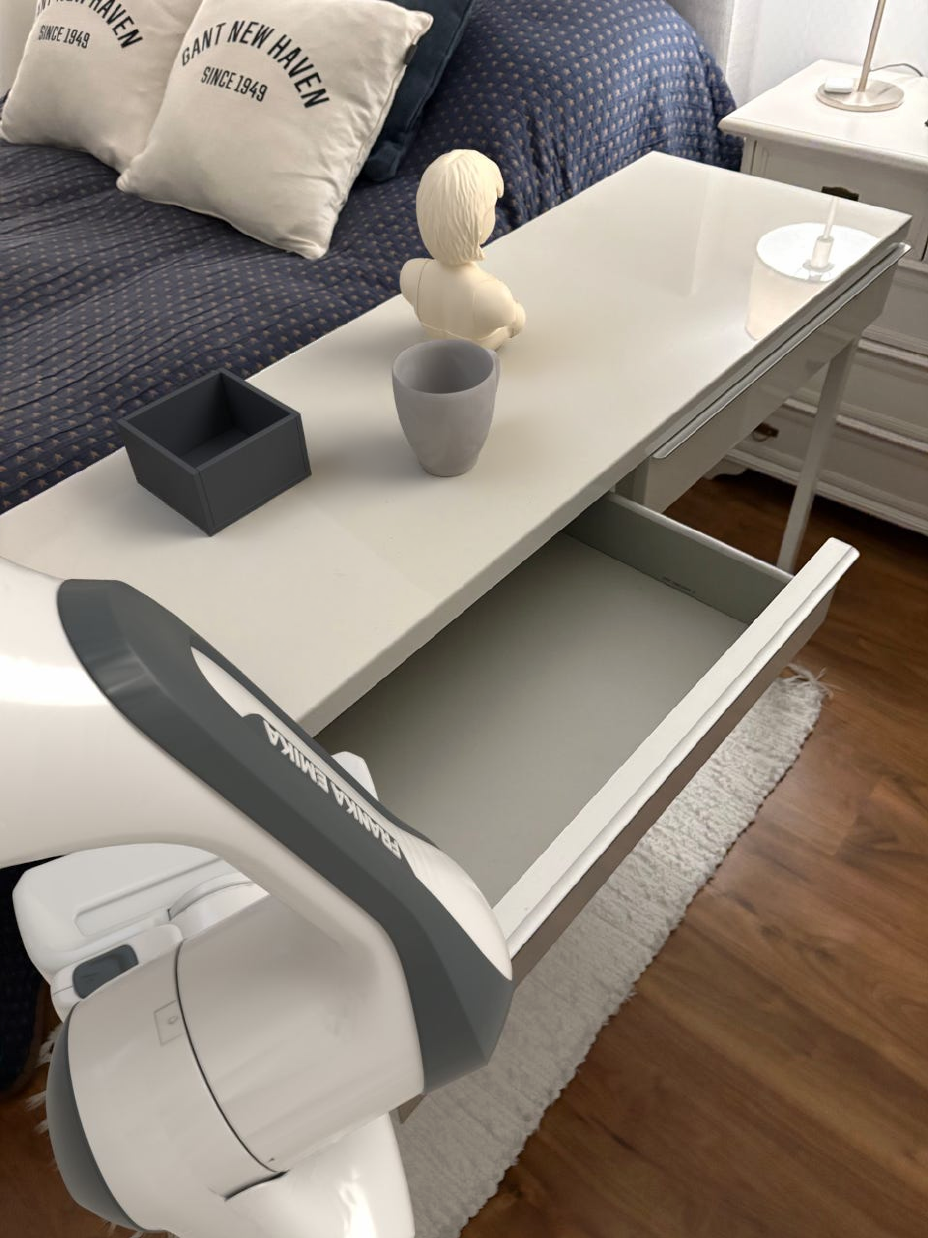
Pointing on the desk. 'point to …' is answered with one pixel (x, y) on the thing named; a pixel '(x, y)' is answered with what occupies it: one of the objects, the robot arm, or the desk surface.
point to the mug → (446, 402)
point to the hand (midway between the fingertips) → (180, 762)
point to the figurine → (459, 255)
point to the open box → (216, 449)
